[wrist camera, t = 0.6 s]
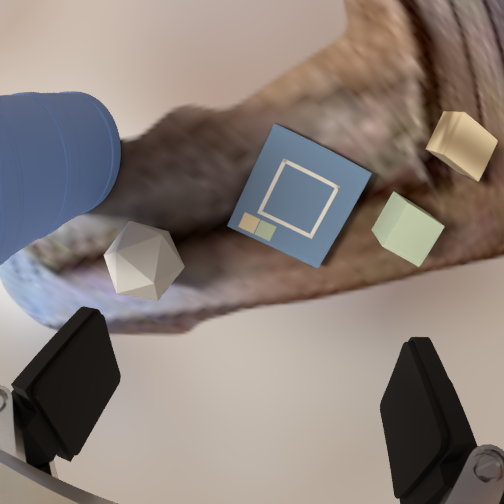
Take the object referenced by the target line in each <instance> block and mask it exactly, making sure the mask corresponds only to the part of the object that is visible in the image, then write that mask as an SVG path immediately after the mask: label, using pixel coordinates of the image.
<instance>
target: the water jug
mask: <svg viewBox="0 0 504 504" xmlns="http://www.w3.org/2000/svg"><path fill="white" fill-rule="evenodd" d="M120 160H121V144H120V137H119V133H118V129H117V126H116V124H115V121H114V119H113V117H112V116H111V114H110V112H109V111H108V109H107V108H106V107H105V106H104V105H103V104H102V103H101V102H100V101H99V100H97V99H96V98H94V97H93V96H91V95H88V94H85V93H82V92H60V93H36V92H25V93H16V94H12V95H3V96H0V265H1V264H3V263H4V262H5V261H6V260H7V259H8V258H9V257H10V256H12V255H13V254H15V253H16V252H18V251H19V250H21V249H22V248H24V247H26V246H27V245H29V244H30V243H32V242H34V241H35V240H37V239H41V238H43V237H45V236H47V235H48V234H50V233H51V232H53V231H55V230H56V229H57V228H59V227H60V226H61V225H62V224H64V223H66V222H68V221H69V220H71V219H73V218H75V217H76V216H79V215H82V214H85V213H87V212H89V211H90V210H92V209H94V208H95V207H96V206H98V205H99V204H100V203H101V202H102V201H103V200H104V199H105V198H106V197H107V195H108V194H109V193H110V191H111V189H112V187H113V185H114V183H115V181H116V178H117V175H118V172H119V167H120Z"/></svg>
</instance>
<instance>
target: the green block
mask: <svg viewBox="0 0 504 504" xmlns="http://www.w3.org/2000/svg"><path fill="white" fill-rule="evenodd" d="M444 227H445V226H443V225H442V224H441V223H440V222H439V221H437V220H436V219H435V218H434V217H433V216H431V215H430V214H429V213H428V212H426V211H425V210H423V209H422V208H420V207H418V206H417V205H415V204H414V203H412V202H411V201H409V200H407V199H406V198H404V197H403V196H401V195H399V194H398V193H396V192H394V191H393V193H392V195H391V197H390V198H389V200H388V202H387V204H386V205H385V207H384V209H383V211H382V213H381V214H380V216H379V218H378V219H377V221H376V223H375V225H374V226H373V228H372V231H373V233H374V234H375V236H376V237H377V239H378V241H379V242H380V244H381V245H382V247H384V248H386V249H388V250H390V251H392V252H393V253H395V254H397V255H399V256H401V257H402V258H404V259H406V260H408V261H409V262H411V263H413V264H415V265H417V266H418V267H420V265H421V264H422V262H423V261H424V259H425V258H426V256H427V254H428V253H429V251H430V250H431V248H432V247H433V245H434V243H435V242H436V240H437V238H438V237H439V235H440V234H441V232H442V230H443V228H444Z"/></svg>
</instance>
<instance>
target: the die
mask: <svg viewBox="0 0 504 504" xmlns="http://www.w3.org/2000/svg"><path fill="white" fill-rule="evenodd" d="M104 257H105V260H106V263H107V266H108V269H109V272H110V275H111V278H112V281H113V284H114V287H115V290H116V292H117V294H122V295H127V296H133V297H139V298H145V299H151V300H157V301H158V300H159V299H160V298H161V296H162V295H163V294H164V293H165V291H166V290H167V289H168V288H169V286H170V285H171V284H172V283H173V281H174V280H175V279H176V278H177V276H178V275H179V274H180V273H181V271H182V270H183V269H184V268H185V266H184V264H183V262H182V260H181V258H180V256H179V253H178V251H177V249H176V247H175V245H174V243H173V240H172V238H171V236H170V234H169V232H168V231H165V230H162V229H158V228H155V227H151V226H147V225H144V224H140V223H136V222H133V221H129V222H128V223H127V224H126V226H125V227H124V228H123V230H122V231H121V232H120V234H119V235H118V236H117V238H116V239H115V241H114V242H113V243H112V245H111V246H110V247H109V249H108V250H107V252H106V253H105V254H104Z"/></svg>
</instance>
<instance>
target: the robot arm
mask: <svg viewBox="0 0 504 504" xmlns="http://www.w3.org/2000/svg"><path fill="white" fill-rule="evenodd" d="M120 377H121V376H120V371H119V368H118V365H117V361H116V358H115V355H114V351H113V348H112V344H111V341H110V337H109V333H108V329H107V325H106V321H105V318H104V316H103V315H102V314H101V313H100V311H99V310H98V309H94V308H89V307H81V308H80V309H79V310H78V311H77V312H76V313H75V314H74V315H73V316H72V317H71V318H70V319H69V320H68V321H67V322H66V323H65V324H64V326H63V327H62V328H61V329H60V330H59V331H58V332H57V333H56V334H55V335H54V336H53V337H52V339H51V340H50V341H49V342H48V343H47V344H46V345H45V346H44V347H43V348H42V350H41V351H40V352H39V353H38V354H37V355H36V356H35V357H34V358H33V360H32V361H31V362H30V363H29V364H28V365H27V366H26V368H25V369H24V370H23V371H22V372H21V373H20V375H19V376H18V377H17V378H16V379H15V380H14V382H13V383H12V384H11V385H12V387H13V388H14V390H13V391H12V392H10V390H9V389H8V388H6V387H5V386H1V385H0V504H118V503H114V502H112V501H109V500H106V499H104V498H101V497H98V496H96V495H93V494H91V493H88V492H86V491H84V490H81V489H79V488H76V487H74V486H72V485H70V484H67V483H65V482H63V481H61V480H59V479H58V476H57V472H56V468H55V463H54V457H55V456H56V454H57V456H59V457H61V458H63V459H66V460H68V461H70V462H71V460H72V458H73V457H74V455H78V454H79V453H80V451H81V449H82V447H83V446H84V444H85V442H86V440H87V438H88V437H89V435H90V433H91V431H92V429H93V428H94V426H95V424H96V422H97V421H98V419H99V417H100V415H101V414H102V412H103V410H104V409H105V406H106V405H107V403H108V402H109V400H110V398H111V396H112V395H113V393H114V391H115V390H116V388H117V386H118V384H119V382H120ZM380 413H381V418H382V423H383V428H384V433H385V438H386V445H387V450H388V456H389V462H390V468H391V475H392V481H393V489H394V495H395V497H396V498H397V499H398V498H400V504H504V451H503V450H502V449H500V448H499V447H497V446H494V445H491V444H490V445H481V446H477V444H476V441H475V438H474V436H473V433H472V430H471V428H470V425H469V422H468V420H467V417H466V415H465V412H464V410H463V407H462V405H461V403H460V400H459V398H458V395H457V393H456V391H455V389H454V387H453V384H452V382H451V381H450V379H449V378H448V376H447V373H446V371H445V369H444V367H443V365H442V362H441V360H440V358H439V356H438V354H437V352H436V350H435V348H434V346H433V344H432V342H431V340H430V338H428V337H411V338H410V339H409V341H408V342H405V343H404V344H403V346H402V349H401V352H400V355H399V357H398V360H397V363H396V365H395V368H394V371H393V373H392V376H391V378H390V381H389V383H388V386H387V388H386V391H385V393H384V395H383V398H382V400H381V404H380Z"/></svg>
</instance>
